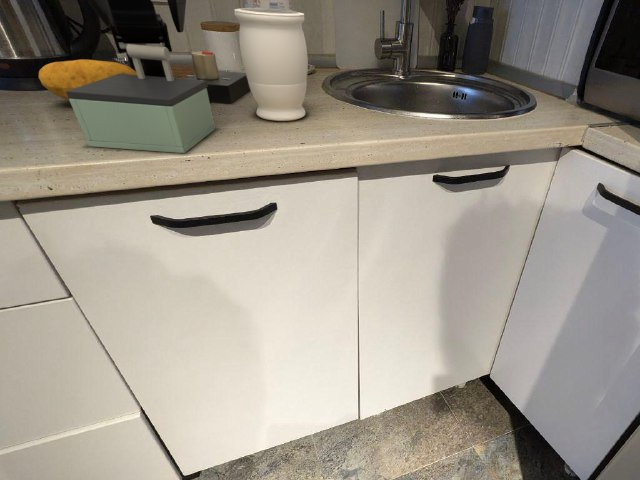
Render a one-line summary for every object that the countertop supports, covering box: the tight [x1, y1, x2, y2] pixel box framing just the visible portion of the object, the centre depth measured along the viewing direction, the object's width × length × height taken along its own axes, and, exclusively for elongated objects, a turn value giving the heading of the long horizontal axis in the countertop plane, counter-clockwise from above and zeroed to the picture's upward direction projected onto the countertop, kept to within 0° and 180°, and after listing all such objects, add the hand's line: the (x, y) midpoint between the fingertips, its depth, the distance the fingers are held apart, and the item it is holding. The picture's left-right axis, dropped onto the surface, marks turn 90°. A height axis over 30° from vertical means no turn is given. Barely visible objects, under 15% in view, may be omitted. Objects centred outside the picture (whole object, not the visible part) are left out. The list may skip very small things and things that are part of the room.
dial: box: [190, 50, 219, 80], centre depth 74 cm, size 4×4×4 cm
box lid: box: [66, 44, 208, 106], centre depth 52 cm, size 12×13×5 cm
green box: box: [68, 88, 216, 154], centre depth 55 cm, size 11×13×6 cm
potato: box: [38, 58, 137, 101], centre depth 65 cm, size 8×14×7 cm, turn 108°
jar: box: [234, 7, 309, 122], centre depth 65 cm, size 11×10×15 cm
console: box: [184, 70, 251, 104], centre depth 77 cm, size 12×10×3 cm
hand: (145, 29), depth 53 cm, fingers open, 9 cm apart
